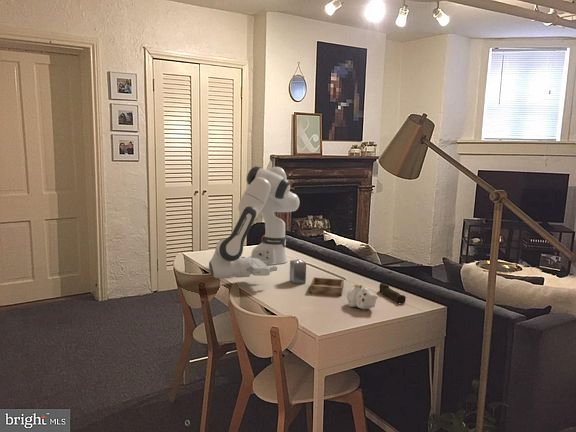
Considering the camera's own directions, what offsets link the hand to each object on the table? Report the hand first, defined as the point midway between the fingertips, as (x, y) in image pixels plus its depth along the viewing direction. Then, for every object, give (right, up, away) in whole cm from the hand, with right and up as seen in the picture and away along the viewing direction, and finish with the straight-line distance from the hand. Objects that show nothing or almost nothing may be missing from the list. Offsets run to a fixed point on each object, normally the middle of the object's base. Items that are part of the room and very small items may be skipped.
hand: (273, 266), depth 224 cm
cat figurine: (+36, -14, -29) cm, 49 cm away
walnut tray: (+24, -10, -6) cm, 27 cm away
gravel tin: (+11, -8, +5) cm, 15 cm away
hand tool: (+51, -13, -14) cm, 54 cm away
